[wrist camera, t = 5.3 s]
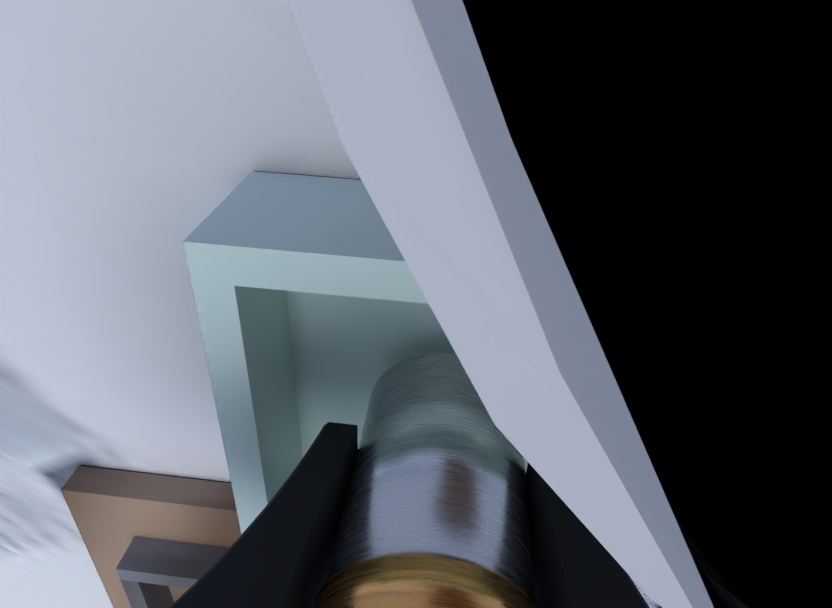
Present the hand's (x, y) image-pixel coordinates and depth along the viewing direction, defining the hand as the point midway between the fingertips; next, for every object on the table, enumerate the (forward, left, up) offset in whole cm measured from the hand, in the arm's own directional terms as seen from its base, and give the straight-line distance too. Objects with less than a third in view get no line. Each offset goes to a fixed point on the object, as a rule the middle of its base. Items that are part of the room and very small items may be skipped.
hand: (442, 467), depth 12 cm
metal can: (0, 0, -2) cm, 2 cm away
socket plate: (+7, +11, -4) cm, 14 cm away
